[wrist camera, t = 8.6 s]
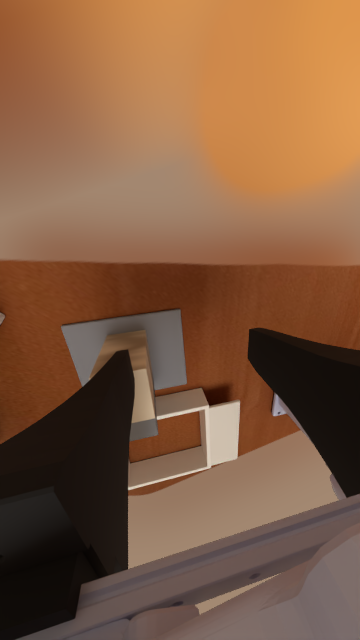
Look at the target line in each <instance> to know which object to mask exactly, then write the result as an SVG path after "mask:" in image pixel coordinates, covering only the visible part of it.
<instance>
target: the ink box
mask: <svg viewBox="0 0 360 640" xmlns="http://www.w3.org/2000/svg"><path fill="white" fill-rule="evenodd" d="M4 318H5V315H4V314H2V313H1V312H0V325H1V323H2V322H3V320H4Z"/></svg>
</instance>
